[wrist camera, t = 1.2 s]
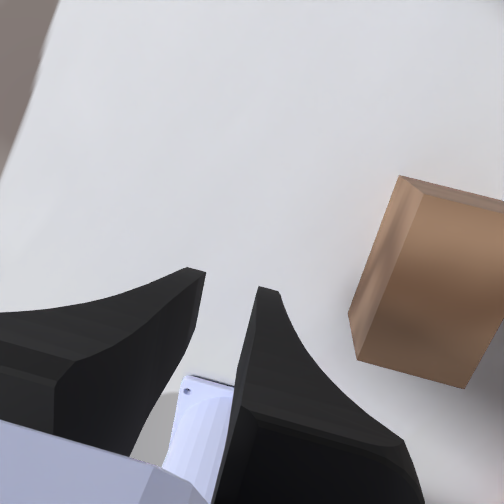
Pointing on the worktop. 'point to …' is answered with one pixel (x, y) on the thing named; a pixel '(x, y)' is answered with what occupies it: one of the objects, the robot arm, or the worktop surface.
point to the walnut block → (431, 283)
